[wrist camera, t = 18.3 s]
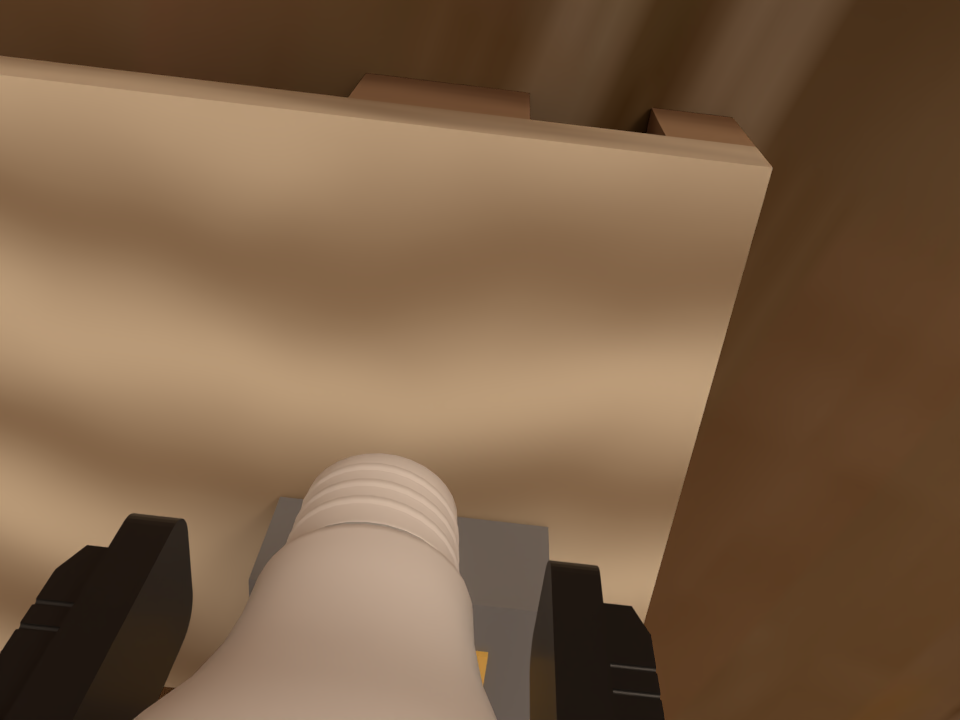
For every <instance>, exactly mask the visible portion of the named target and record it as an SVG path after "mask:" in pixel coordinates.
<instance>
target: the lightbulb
mask: <svg viewBox="0 0 960 720" xmlns="http://www.w3.org/2000/svg"><path fill="white" fill-rule="evenodd" d="M458 545H459V531H458V525H457V508H456V505H455V502H454V499H453V496H452V494H451V493H450V491H449V489H448V488H447V486H446V485H445V484H444V483H443V481H442V480H441V479H440V478H439V477H438V476H437V475H436V474H434V473H433V472H432V471H430V470H429V469H427V468H426V467H425V466H423V465H421V464H419V463H417V462H415V461H412V460H410V459H407V458H404V457H401V456H397V455H392V454H384V453H370V454H362V455H356V456H351V457H348V458H346V459H343V460H340V461H338V462H336V463H334V464H333V465H331V466H329V467H328V468H326V469H325V470H324V471H323V472H322V473H321V474H320V475H319V476H318V477H317V478H316V479H315V481H314V482H313V484H312V485H311V487H310V488H309V491H308V493H307V495H306V496H305V498H304V499H303V503H302V507H301V510H300V512H299V513H298V515H297V516H296V519H295V522H294V525H293V528H292V531H291V532H290V534H289V536H288V539H287V542H286V544H285V545H284V546H283V547H282V548H281V549H280V550H279V551H278V552H277V553H276V554H275V555H273V556H272V558H271V559H270V560H269V561H268V562H267V564H266V565H265V567H264V568H263V570H262V571H261V573H260V574H259V576H258V578H257V581H256V583H255V585H254V587H253V590H252V592H251V594H250V597H249V599H248V601H247V604H246V606H245V608H244V611H243V613H242V615H241V616H240V618H239V619H238V621H237V623H236V624H235V626H234V627H233V629H232V630H231V632H230V633H229V635H228V637H227V638H226V640H225V641H224V643H223V644H222V645H221V646H220V647H219V648H218V649H217V650H216V652H215V653H214V654H213V655H212V656H211V657H210V658H209V659H208V660H207V661H206V662H205V663H204V664H203V665H202V666H201V667H200V669H199V670H198V671H197V672H196V673H195V674H194V675H193V676H192V677H190V678H189V679H188V680H186V681H185V682H183V683H182V684H181V685H179V686H178V687H176V688H175V689H174V690H172V691H171V692H169V693H168V694H166V695H165V696H164V697H162V698H161V699H159V700H158V701H157V702H155V703H154V704H152V705H151V706H150V707H148V708H147V709H145V710H144V711H143V712H141V713H140V714H139V715H138V716H137V717H135V718H134V719H133V720H497V719H496V716H495V714H494V712H493V709H492V707H491V704H490V702H489V700H488V697H487V695H486V692H485V690H484V688H483V684H482V679H481V675H480V670H479V665H478V660H477V655H476V651H475V646H474V625H473V607H472V602H471V599H470V596H469V593H468V590H467V587H466V584H465V582H464V580H463V578H462V577H461V575H460V573H459V546H458Z"/></svg>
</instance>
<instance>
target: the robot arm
mask: <svg viewBox="0 0 960 720" xmlns="http://www.w3.org/2000/svg"><path fill="white" fill-rule="evenodd" d="M192 604H193V589H192V576H191V563H190V550H189V537H188V527H187V523H186V521H185V520H184V519H182V518H174V517H165V516H156V515H146V514H137V513H132V514H130V515H128V516H127V518H126V519H125V520H124V522H123V523H122V525H121V527H120V528H119V530H118V532H117V533H116V535H115V537H114V538H113V540H112V542H111V543H110V545H109V547H101V546H92V545H86V546H85V547H84V548H82V549H81V550H80V551H78V552H77V553H76V554H74V555H73V556H72V557H70V558H69V559H68V560H67V561H65V562H64V563H63V564H61V565H60V566H59V567H57V568H56V569H55V570H54V572H53V573H52V575H51V576H50V578H49V579H48V581H47V582H46V584H45V585H44V587H43V589H42V590H41V592H40V593H39V595H38V596H37V598H36V602H35V604H32V605H31V607H30V608H29V610H28V611H27V613H26V614H25V616H24V617H23V619H22V620H21V622H20V627H19V629H15V631H14V632H13V634H12V635H11V637H10V638H9V640H8V641H7V643H6V645H5V646H4V648H3V649H2V651H1V652H0V720H133V719H134V718H135V717H137V716H138V715H139V714H140V713H141V712H143V711H144V710H145V709H147V708H148V707H150V706H151V705H152V704H154V703H155V702H157V701H158V699H159V697H160V694H161V692H162V690H163V687H164V685H165V683H166V680H167V678H168V676H169V674H170V671H171V669H172V667H173V664H174V662H175V660H176V657H177V655H178V653H179V651H180V648H181V646H182V644H183V641H184V639H185V636H186V633H187V630H188V627H189V623H190V618H191V613H192ZM529 681H530V720H665V719H664V713H663V707H662V701H661V700H660V688H659V682H658V676H657V674H656V664H655V658H654V652H653V646H652V640H651V635H650V633H649V632H648V630H647V629H646V627H645V626H644V624H643V622H642V621H641V619H640V618H639V616H638V615H637V613H636V612H635V610H634V609H633V607H632V606H627V605H618V604H609V603H603V595H602V585H601V576H600V570H599V567H598V566H597V565H589V564H580V563H571V562H562V561H553V560H548V562H547V565H546V569H545V574H544V580H543V585H542V590H541V595H540V600H539V606H538V611H537V616H536V621H535V626H534V632H533V638H532V646H531V656H530V679H529Z"/></svg>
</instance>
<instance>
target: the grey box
mask: <svg viewBox="0 0 960 720" xmlns="http://www.w3.org/2000/svg"><path fill="white" fill-rule="evenodd" d="M302 503H303V499H296V498H287V497H280V498H279V501H278V504H277V506H276V509H275V511H274V514H273V517H272V519H271V522H270V524H269V527H268V530H267V532H266V535H265V538H264V540H263V543H262V545H261V548H260V551H259V553H258V556H257V559H256V561H255V564H254V566H253V569H252V572H251V574H250V577H249V597H250V594H251V592H252V590H253V587H254V585H255V583H256V581H257V578H258V576H259V574H260V573H261V571H262V570H263V568H264V567H265V565H266V564H267V562H268V561H269V560H270V559H271V558H272V556H273V555H275V554H276V553H277V552H278V551H279V550H280V549H281V548H282V547H283V546H284V545H285V544H286V542H287V539H288V536H289V534H290V532H291V531H292V528H293V525H294V522H295V519H296V516H297V515H298V513H299V512H300V510H301V507H302ZM457 525H458V531H459V545H458V546H459V573H460V575H461V577H462V578H463V580H464V582H465V584H466V587H467V590H468V593H469V596H470V599H471V602H472V607H473V625H474V646H475V651H476V655H477V660H478V665H479V670H480V675H481V679H482V684H483V688H484V690H485V692H486V695H487V697H488V700H489V702H490V704H491V707H492V709H493V712H494V714H495V716H496V719H497V720H529V719H530V681H529V679H530V656H531V646H532V638H533V632H534V626H535V621H536V616H537V611H538V606H539V600H540V595H541V590H542V585H543V580H544V574H545V569H546V565H547V562H548V560H549V534H548V527H543V526H535V525H526V524H517V523H508V522H499V521H490V520H482V519H473V518H464V517H457Z"/></svg>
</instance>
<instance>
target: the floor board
mask: <svg viewBox="0 0 960 720" xmlns="http://www.w3.org/2000/svg"><path fill="white" fill-rule="evenodd" d="M771 172H772V166H771V165H770V164H769V163H768V161H767V160H766V159H765V158H764V156H763V155H762V154H761V153H760V151H759V150H758V149H757V148H756V146H755V145H754V144H753V143H752V141H751V140H750V139H749V138H748V136H747V135H746V134H745V133H744V131H743V130H742V129H741V128H740V126H739V125H738V124H737V123H736V121H735V120H734V119H733V118H732V117H724V116H716V115H708V114H699V113H691V112H683V111H675V110H666V109H658V108H651V112H650V117H649V122H648V127H647V132H646V133H637V132H629V131H621V130H613V129H604V128H596V127H588V126H579V125H571V124H563V123H554V122H546V121H538V120H530V93H526V92H518V91H509V90H501V89H493V88H485V87H476V86H468V85H460V84H452V83H443V82H435V81H427V80H419V79H410V78H402V77H394V76H385V75H377V74H369V73H366V74H365V75H364V77H363V78H362V79H361V81H360V82H359V83H358V85H357V86H356V87H355V89H354V90H353V92H352V93H351V94H350V96H349V97H348V98H347V97H339V96H331V95H322V94H314V93H306V92H297V91H289V90H281V89H273V88H264V87H256V86H248V85H239V84H231V83H223V82H215V81H206V80H198V79H190V78H181V77H173V76H165V75H157V74H148V73H140V72H132V71H123V70H115V69H107V68H98V67H90V66H82V65H74V64H65V63H57V62H49V61H40V60H32V59H24V58H16V57H7V56H0V652H1V651H2V649H3V648H4V646H5V645H6V643H7V641H8V640H9V638H10V637H11V635H12V634H13V632H14V631H15V629H19V627H20V622H21V620H22V619H23V617H24V616H25V614H26V613H27V611H28V610H29V608H30V607H31V605H32V604H35V602H36V598H37V596H38V595H39V593H40V592H41V590H42V589H43V587H44V585H45V584H46V582H47V581H48V579H49V578H50V576H51V575H52V573H53V572H54V570H55V569H56V568H57V567H59V566H60V565H61V564H63V563H64V562H65V561H67V560H68V559H69V558H70V557H72V556H73V555H74V554H76V553H77V552H78V551H80V550H81V549H82V548H84V547H85V546H86V545H92V546H101V547H109V545H110V543H111V542H112V540H113V538H114V537H115V535H116V533H117V532H118V530H119V528H120V527H121V525H122V523H123V522H124V520H125V519H126V518H127V516H128V515H130V514H132V513H137V514H146V515H156V516H165V517H174V518H182V519H184V520H185V521H186V523H187V527H188V537H189V550H190V563H191V576H192V589H193V604H192V613H191V618H190V623H189V627H188V630H187V633H186V636H185V639H184V641H183V644H182V646H181V648H180V651H179V653H178V655H177V657H176V660H175V662H174V664H173V667H172V669H171V671H170V674H169V676H168V678H167V680H166V683H165V685H164V687H172V688H176V687H178V686H179V685H181V684H182V683H183V682H185V681H186V680H188V679H189V678H190V677H192V676H193V675H194V674H195V673H196V672H197V671H198V670H199V669H200V667H201V666H202V665H203V664H204V663H205V662H206V661H207V660H208V659H209V658H210V657H211V656H212V655H213V654H214V653H215V652H216V650H217V649H218V648H219V647H220V646H221V645H222V644H223V643H224V641H225V640H226V638H227V637H228V635H229V633H230V632H231V630H232V629H233V627H234V626H235V624H236V623H237V621H238V619H239V618H240V616H241V615H242V613H243V611H244V608H245V606H246V604H247V601H248V599H249V577H250V574H251V572H252V569H253V566H254V564H255V561H256V559H257V556H258V553H259V551H260V548H261V545H262V543H263V540H264V538H265V535H266V532H267V530H268V527H269V524H270V522H271V519H272V517H273V514H274V511H275V509H276V506H277V504H278V501H279V498H280V497H287V498H296V499H304V498H305V496H306V495H307V493H308V491H309V488H310V487H311V485H312V484H313V482H314V481H315V479H316V478H317V477H318V476H319V475H320V474H321V473H322V472H323V471H324V470H325V469H326V468H328V467H329V466H331V465H333V464H334V463H336V462H338V461H340V460H343V459H346V458H348V457H351V456H356V455H362V454H370V453H384V454H392V455H397V456H401V457H404V458H407V459H410V460H412V461H415V462H417V463H419V464H421V465H423V466H425V467H426V468H427V469H429V470H430V471H432V472H433V473H434V474H436V475H437V476H438V477H439V478H440V479H441V480H442V481H443V483H444V484H445V485H446V486H447V488H448V489H449V491H450V493H451V494H452V496H453V499H454V502H455V505H456V508H457V517H464V518H473V519H482V520H490V521H499V522H508V523H517V524H526V525H535V526H543V527H548V534H549V560H553V561H562V562H571V563H580V564H589V565H597V566H598V567H599V570H600V576H601V585H602V595H603V603H609V604H618V605H627V606H632V607H633V609H634V610H635V612H636V613H637V615H638V616H639V618H640V619H641V621H642V622H643V624H644V621H645V617H646V614H647V610H648V606H649V603H650V599H651V596H652V592H653V589H654V585H655V582H656V578H657V575H658V571H659V568H660V564H661V561H662V557H663V553H664V550H665V546H666V543H667V539H668V536H669V532H670V529H671V525H672V522H673V518H674V515H675V511H676V508H677V504H678V500H679V497H680V493H681V490H682V486H683V483H684V479H685V476H686V472H687V469H688V465H689V462H690V458H691V455H692V451H693V447H694V444H695V440H696V437H697V433H698V430H699V426H700V423H701V419H702V416H703V412H704V409H705V405H706V402H707V398H708V394H709V391H710V387H711V384H712V380H713V377H714V373H715V370H716V366H717V363H718V359H719V356H720V352H721V348H722V345H723V341H724V338H725V334H726V331H727V327H728V324H729V320H730V317H731V313H732V310H733V306H734V303H735V299H736V295H737V292H738V288H739V285H740V281H741V278H742V274H743V271H744V267H745V264H746V260H747V257H748V253H749V250H750V246H751V242H752V239H753V235H754V232H755V228H756V225H757V221H758V218H759V214H760V211H761V207H762V204H763V200H764V197H765V193H766V189H767V186H768V182H769V179H770V175H771ZM529 720H530V719H529Z"/></svg>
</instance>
